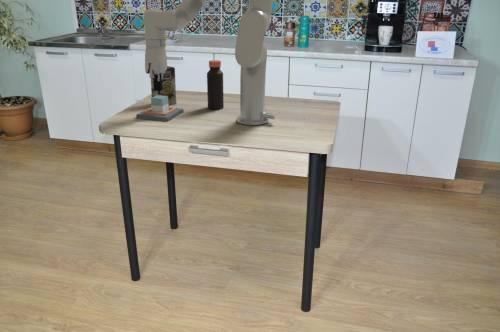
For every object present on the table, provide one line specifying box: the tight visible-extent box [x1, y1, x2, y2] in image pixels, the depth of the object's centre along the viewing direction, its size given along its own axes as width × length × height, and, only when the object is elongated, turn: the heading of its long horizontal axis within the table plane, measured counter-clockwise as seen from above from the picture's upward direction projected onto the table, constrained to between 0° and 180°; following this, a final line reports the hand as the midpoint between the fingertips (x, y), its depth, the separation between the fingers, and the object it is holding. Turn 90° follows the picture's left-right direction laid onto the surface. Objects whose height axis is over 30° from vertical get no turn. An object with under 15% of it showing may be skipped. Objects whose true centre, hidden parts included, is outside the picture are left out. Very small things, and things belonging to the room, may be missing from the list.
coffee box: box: [150, 65, 177, 106], centre depth 205 cm, size 9×6×16 cm
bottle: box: [206, 59, 225, 111], centre depth 199 cm, size 7×7×20 cm
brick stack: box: [150, 95, 170, 113], centre depth 190 cm, size 5×5×6 cm
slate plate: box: [135, 106, 185, 122], centre depth 191 cm, size 14×14×2 cm
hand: (158, 90), depth 188 cm, fingers closed
